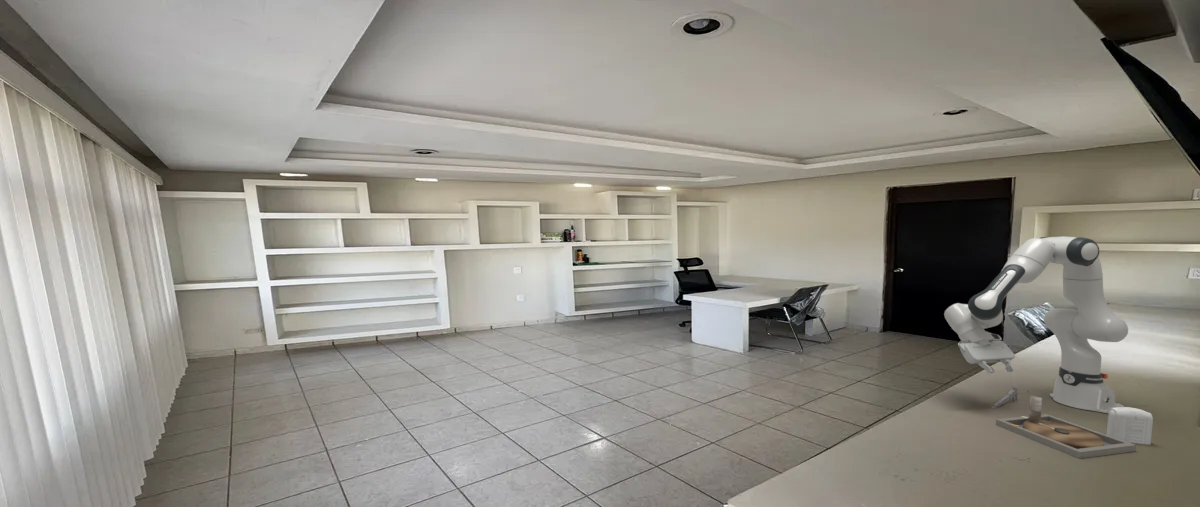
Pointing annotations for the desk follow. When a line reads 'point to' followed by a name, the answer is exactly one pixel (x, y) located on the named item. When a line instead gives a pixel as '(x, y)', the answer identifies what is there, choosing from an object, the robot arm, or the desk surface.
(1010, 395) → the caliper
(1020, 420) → the dial base
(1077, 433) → the dial
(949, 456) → the desk surface
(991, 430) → the desk surface
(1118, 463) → the desk surface
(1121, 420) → the photo printer
